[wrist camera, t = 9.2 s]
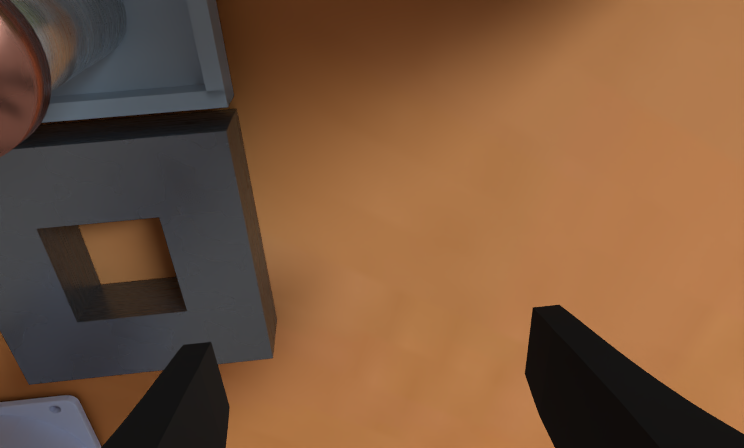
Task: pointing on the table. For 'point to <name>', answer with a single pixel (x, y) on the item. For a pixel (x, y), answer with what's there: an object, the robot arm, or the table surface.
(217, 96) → the tray
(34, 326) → the hitch block
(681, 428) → the robot arm
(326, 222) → the table surface
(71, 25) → the pin
